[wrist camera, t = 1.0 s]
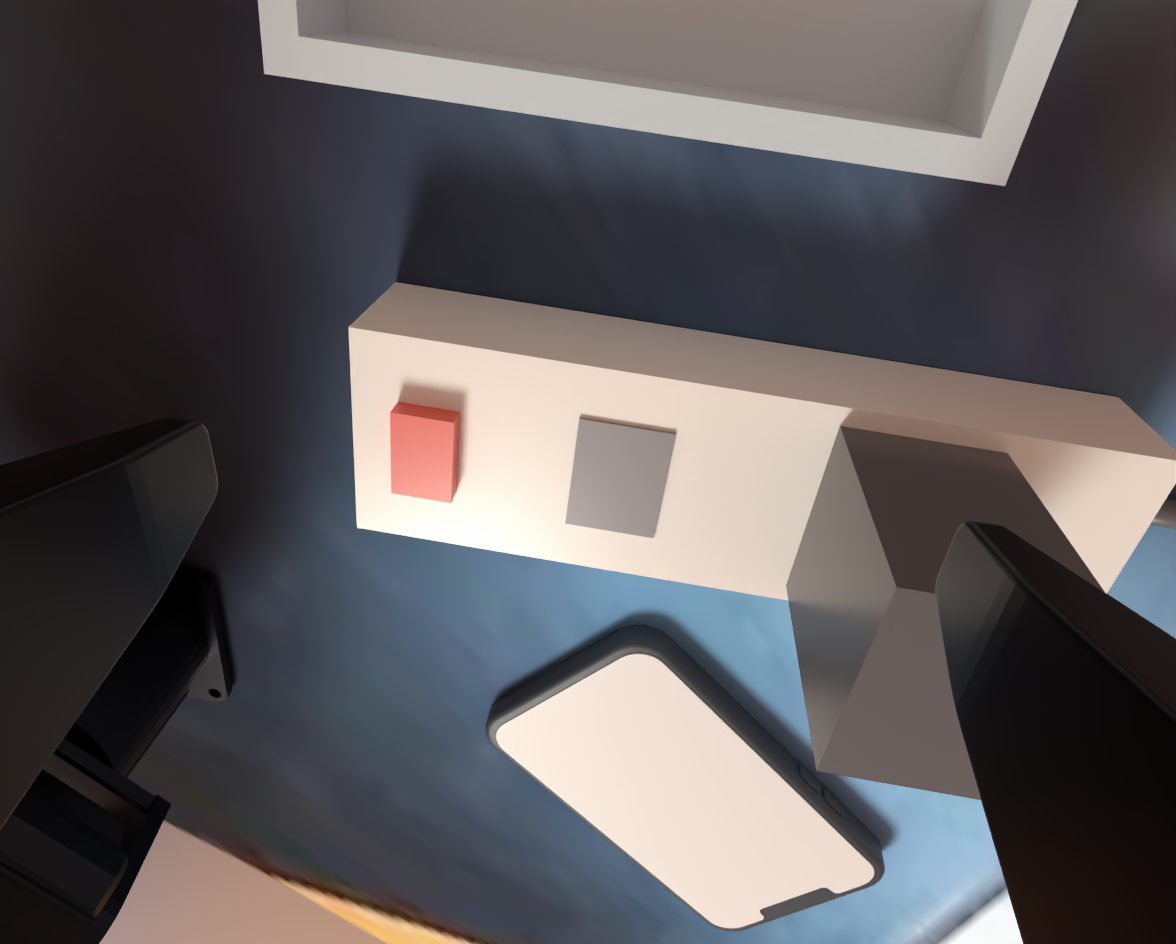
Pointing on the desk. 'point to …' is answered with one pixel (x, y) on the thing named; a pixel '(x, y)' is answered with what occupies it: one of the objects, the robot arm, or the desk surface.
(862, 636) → the charger
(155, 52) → the desk surface
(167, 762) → the desk surface
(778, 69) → the tray
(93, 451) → the robot arm
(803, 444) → the power strip
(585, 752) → the phone case
